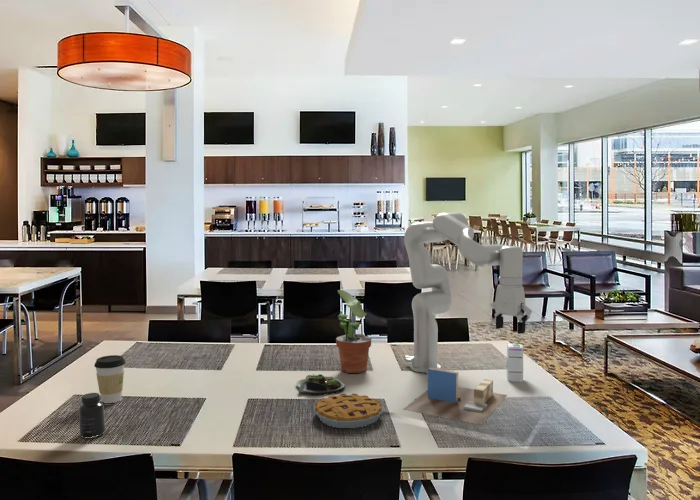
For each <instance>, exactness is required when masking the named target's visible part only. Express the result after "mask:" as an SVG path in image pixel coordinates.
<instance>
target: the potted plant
mask: <svg viewBox="0 0 700 500" xmlns="http://www.w3.org/2000/svg"><path fill="white" fill-rule="evenodd" d="M337 293H338V295H340V297H341V298H342V299H343V301H344V302H345V303H346V306H347V308H350V310H349V315H347V314H345V313H343V314H341V313H340V314H337V319H338V321H339V324H338V325H339V327H340V328H341V329H342V330H344V333H345V334H343V335H340V336H337V337H335V343H336V344H335V345H336V347H337V348H338V352H339V353H338V354H339V361H340V366H341V368H340V369H341V371H342V372H345V373H347V374H348V373H349V374H358V373H359V374H360V373H364V372H366V370H367V367H368V359H369V351H370V348H371V346H372V337H371V336H367V335H365V334H363V333H355V334H354V330H355V331H357V330H359V327H360V322H356V321H355V317H357V318H359V319H363V318H365V317H366V316H367V312H365V311H364V309H363V308H362V303H361V300H358V299H357V298H356V297H354V296H353V295H352V294H351V293H349V292H348V291H345V290H342V289H337ZM351 313H352V314H351ZM348 316H349V317H348ZM347 323H348V324H347ZM347 325H348V327H347Z"/></svg>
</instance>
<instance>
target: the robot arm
mask: <svg viewBox="0 0 700 500" xmlns="http://www.w3.org/2000/svg"><path fill="white" fill-rule="evenodd" d="M404 232H405V233H404V236H403V240H404V242H403V243H404V246H405V250H406V253H407V256H408V263H409V271H410V278H411V282H412V285H413V287H415V288H416V289H419V290H425V289H426V290H427V289H431V291H423V292H420V293H417V294H416V295H415V296H413V298H412V301H411V309H412V313H413V314H412V315H413V329H414V330H413V356H411V355H405V358H404V360H405V362H407V363H410V366H409V368H410V370H412V371H413V372H416V373H421V374H422V373H424V374H428V369H429V368H436V369H442V366H441V365H440V364H439V363H438V340H439V339H438V338H439V337H438V332H439V329H438V322H437V320H436V318H435V315H439V314H444V313H447V312H448V311H449V310H451V307H452V304H453V302H452V301H453V300H452V294H451V287H450V280H449V274H448V271H447V270H446V268H444V266H443V265H440V264H432V263H431V259H430V258H431V257H430V254H429V251H428V249H427V248H426V247H425V246H424V244H427V243H428V244H429V243H430V244H431V243H440V242H441V243H442V242H444V241H447V240H448V241H449V242H451V243H453V244H454V245H456V246H457V249H458V251H459V253H460V254H461V256H462V257H463V258H464V259H466V260H467V261H469V262H470V263H472V264H473V265H475V266H478V267H481V268H482V267H491V266H499V277H497V278H498V279H497V280H498V282H499V284H497V287H496V292H495V300H494V301H493V302H491V303H490V307H491V311H492V313H493V315H494V316H493V317H495V329H502V328H504V316H503V315H506V316H510V317H516V318H517V320H518V322H517V327H516V328H517V331H516V332H517V334H519V335H520V334H521V335H522V334H525V333H526V322H528V320H529V319H530V318H531V314H532V312H533V311H532V310H531V308H529V306H527V305H526V295H525V289H524V286H523V263H524V262H523V261H524V260H523V258H524V257H523V255H524V254H523V252H524V251H523V248H522V247H521V246H517V245H505V244H499V243H495V244H483V245H482V244H480V243H479V242H477V241H476V240H473V239H474V236H475V232H474V229H473V227H472V226H470V225H469V222H468V219H467V217H466V216H465V215H464V214H462V213H461V212H441V213H438V214H437V215H435V217H434V218H433V220H432V221H421V222H414V223H412V224H410V225H409V226H408V227H406V229H405V231H404Z"/></svg>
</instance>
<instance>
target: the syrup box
mask: <svg viewBox="0 0 700 500" xmlns="http://www.w3.org/2000/svg"><path fill="white" fill-rule="evenodd" d="M506 379H507V382H520V383H523V382H524V346H523V344H522V343H507V344H506Z"/></svg>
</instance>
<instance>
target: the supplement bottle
mask: <svg viewBox="0 0 700 500" xmlns="http://www.w3.org/2000/svg"><path fill="white" fill-rule="evenodd" d="M104 405H105V404H103V403H102V401H101V395H100V393H99V392H88V393H86V394H85V393H84V394H83V395H81V405H80V406H79V407H78V423H79V426H78V427H79V436H80V435H81V436H83V437H92V436H96V435H100V434H102V433H103V432H104V431H105V432H106V418H105V406H104ZM81 436H80V437H81Z"/></svg>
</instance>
